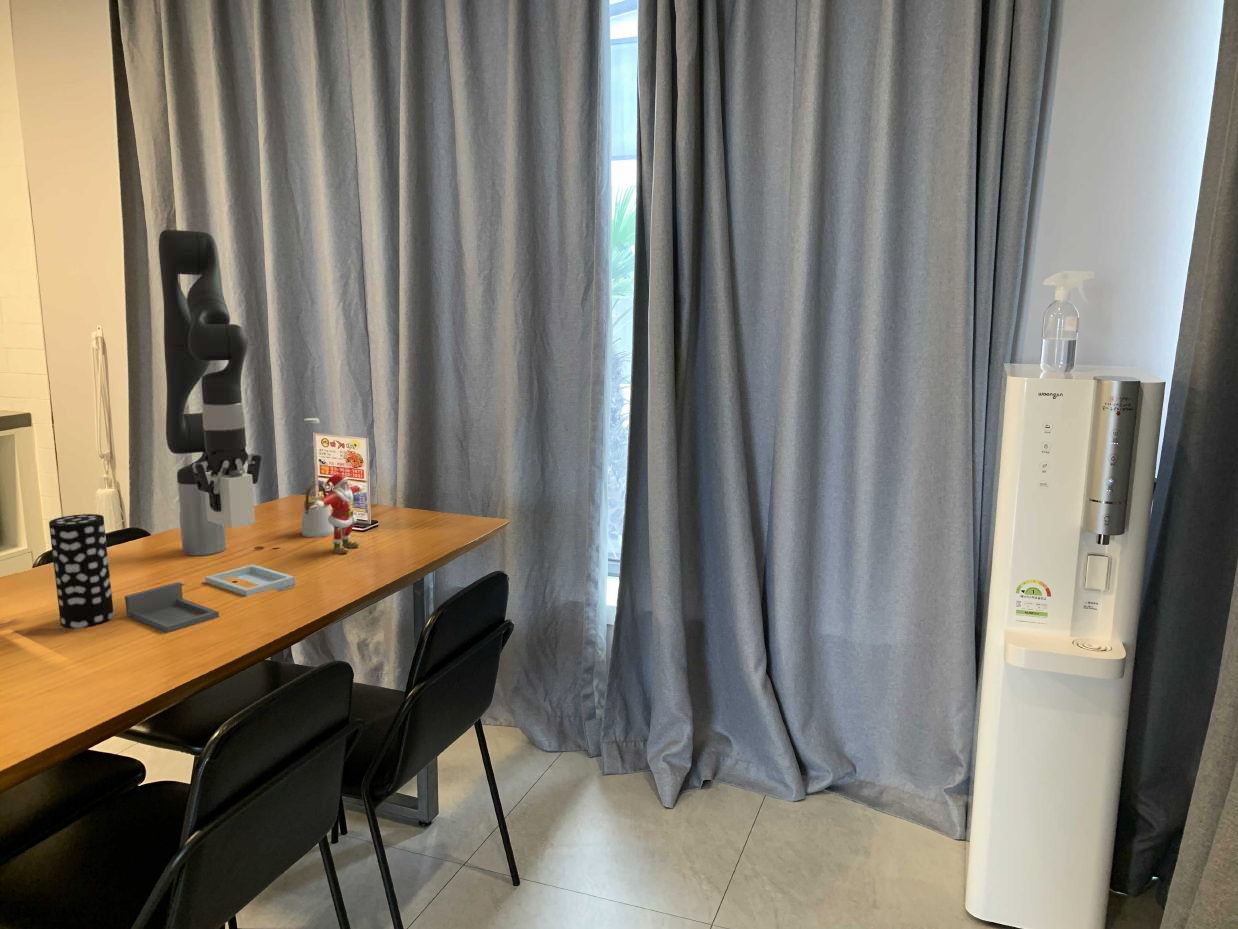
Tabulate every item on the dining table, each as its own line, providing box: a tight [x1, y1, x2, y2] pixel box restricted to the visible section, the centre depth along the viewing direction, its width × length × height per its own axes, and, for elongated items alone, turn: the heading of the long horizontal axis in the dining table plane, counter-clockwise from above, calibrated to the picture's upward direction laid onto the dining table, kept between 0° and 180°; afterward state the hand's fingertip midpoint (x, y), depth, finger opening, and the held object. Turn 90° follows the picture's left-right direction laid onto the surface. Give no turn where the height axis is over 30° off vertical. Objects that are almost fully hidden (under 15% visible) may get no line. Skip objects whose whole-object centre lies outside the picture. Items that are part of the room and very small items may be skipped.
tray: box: [204, 563, 296, 597], centre depth 177 cm, size 15×11×2 cm
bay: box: [124, 581, 220, 634], centre depth 156 cm, size 14×10×5 cm
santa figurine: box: [310, 473, 366, 555], centre depth 203 cm, size 25×6×19 cm, turn 169°
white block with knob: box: [205, 470, 256, 529], centre depth 170 cm, size 9×5×11 cm, turn 55°
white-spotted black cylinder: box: [48, 513, 115, 629], centre depth 153 cm, size 8×8×20 cm
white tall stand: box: [300, 417, 334, 538], centre depth 217 cm, size 8×8×30 cm
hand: (230, 508), depth 171 cm, fingers closed on white block with knob, 5 cm apart
